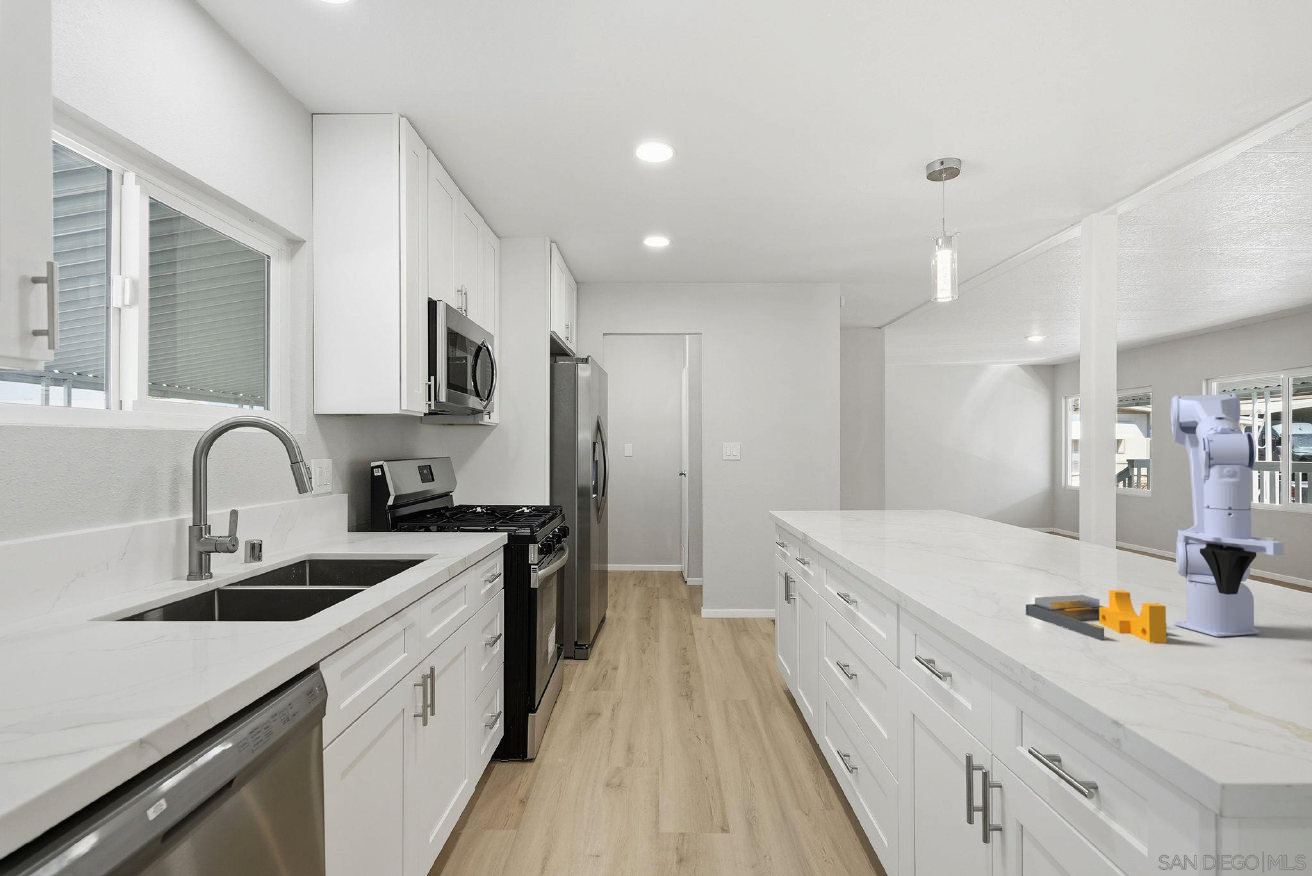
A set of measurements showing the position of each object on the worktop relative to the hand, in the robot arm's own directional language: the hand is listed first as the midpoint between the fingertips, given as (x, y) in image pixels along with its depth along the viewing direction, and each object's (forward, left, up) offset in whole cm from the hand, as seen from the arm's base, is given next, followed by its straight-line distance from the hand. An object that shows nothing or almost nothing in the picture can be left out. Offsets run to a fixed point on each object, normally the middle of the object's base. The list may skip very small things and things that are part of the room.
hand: (1228, 593), depth 104 cm
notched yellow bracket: (+4, -14, -10) cm, 18 cm away
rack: (+6, -20, -10) cm, 23 cm away
